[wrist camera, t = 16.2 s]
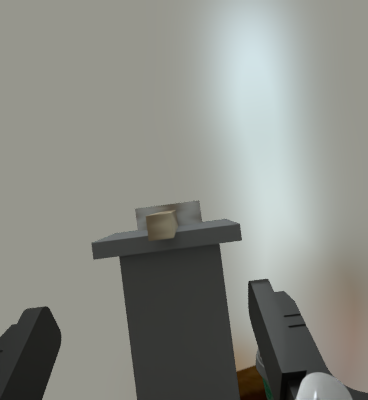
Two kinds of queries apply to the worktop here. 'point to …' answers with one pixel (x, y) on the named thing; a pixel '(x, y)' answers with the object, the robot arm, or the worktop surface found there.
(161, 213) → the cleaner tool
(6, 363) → the robot arm
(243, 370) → the worktop surface
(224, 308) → the stand
